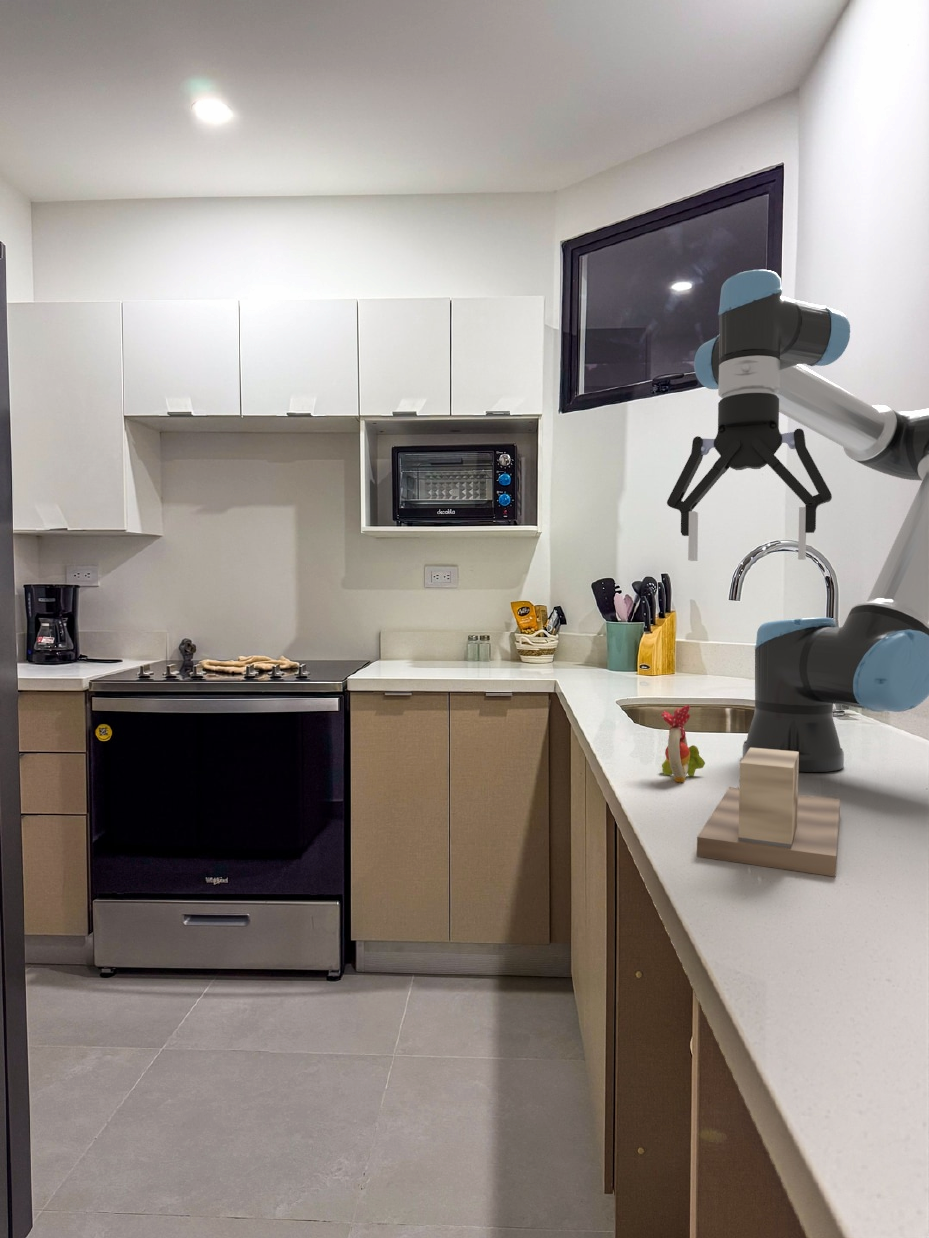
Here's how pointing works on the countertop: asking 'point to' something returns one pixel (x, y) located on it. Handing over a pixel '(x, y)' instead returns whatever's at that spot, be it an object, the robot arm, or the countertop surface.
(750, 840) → the block
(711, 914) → the countertop surface
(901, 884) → the countertop surface
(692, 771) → the bird rattle
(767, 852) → the walnut board
